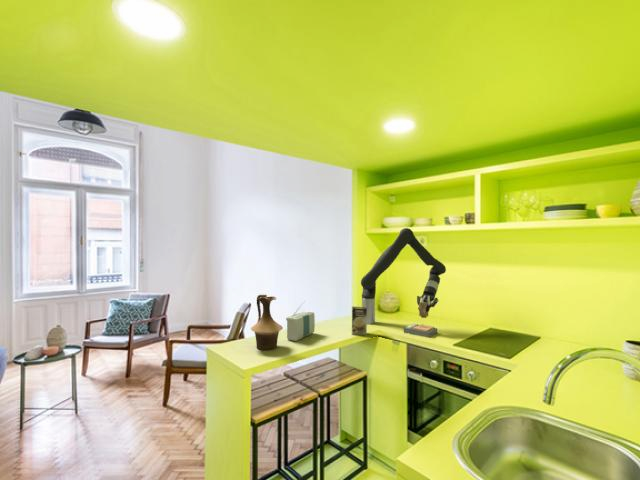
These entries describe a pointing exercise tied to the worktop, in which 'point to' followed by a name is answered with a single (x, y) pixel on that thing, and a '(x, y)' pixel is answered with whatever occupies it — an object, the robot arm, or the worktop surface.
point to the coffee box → (359, 321)
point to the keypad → (417, 332)
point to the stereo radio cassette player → (300, 325)
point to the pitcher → (266, 325)
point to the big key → (423, 328)
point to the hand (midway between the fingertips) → (423, 310)
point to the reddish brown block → (423, 309)
